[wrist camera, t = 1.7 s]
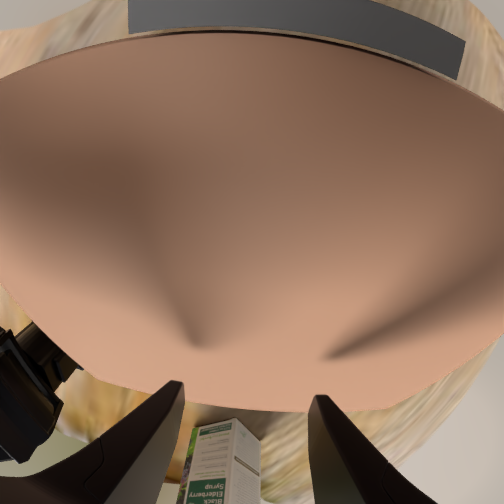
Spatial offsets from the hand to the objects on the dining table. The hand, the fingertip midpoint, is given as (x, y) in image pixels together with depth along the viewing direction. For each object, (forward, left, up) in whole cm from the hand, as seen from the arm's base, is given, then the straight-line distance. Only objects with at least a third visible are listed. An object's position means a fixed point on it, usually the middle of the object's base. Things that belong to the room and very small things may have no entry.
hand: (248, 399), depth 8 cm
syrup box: (-1, -21, -13) cm, 25 cm away
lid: (0, +2, -3) cm, 3 cm away
